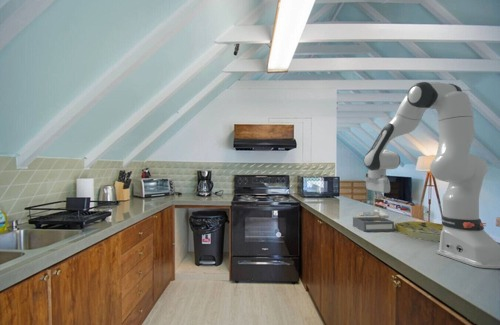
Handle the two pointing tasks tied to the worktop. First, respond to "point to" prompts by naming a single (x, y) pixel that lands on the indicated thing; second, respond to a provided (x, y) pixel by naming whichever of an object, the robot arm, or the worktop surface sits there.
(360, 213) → the switch
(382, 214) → the switch
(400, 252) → the worktop surface
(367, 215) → the switch
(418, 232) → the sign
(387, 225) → the box
